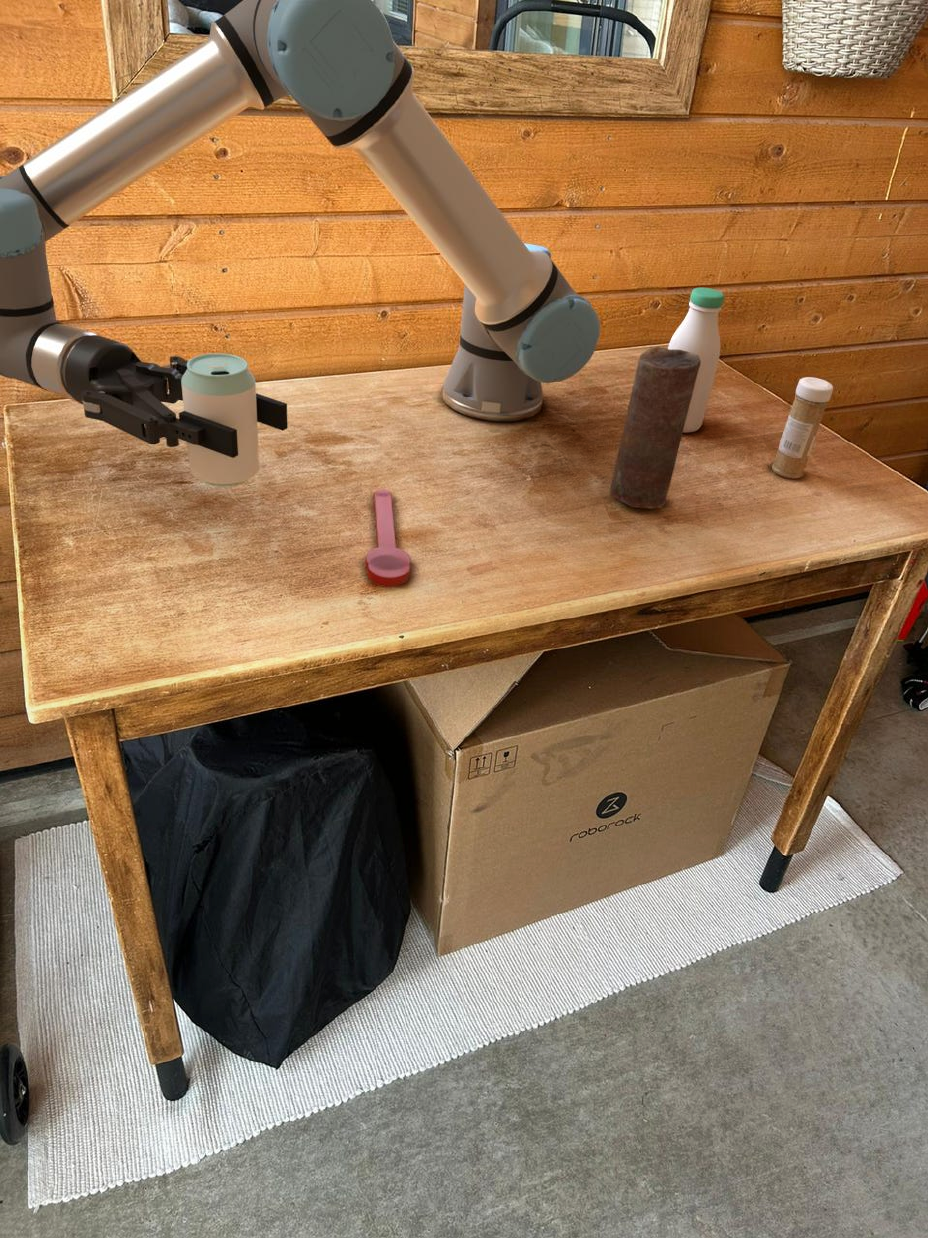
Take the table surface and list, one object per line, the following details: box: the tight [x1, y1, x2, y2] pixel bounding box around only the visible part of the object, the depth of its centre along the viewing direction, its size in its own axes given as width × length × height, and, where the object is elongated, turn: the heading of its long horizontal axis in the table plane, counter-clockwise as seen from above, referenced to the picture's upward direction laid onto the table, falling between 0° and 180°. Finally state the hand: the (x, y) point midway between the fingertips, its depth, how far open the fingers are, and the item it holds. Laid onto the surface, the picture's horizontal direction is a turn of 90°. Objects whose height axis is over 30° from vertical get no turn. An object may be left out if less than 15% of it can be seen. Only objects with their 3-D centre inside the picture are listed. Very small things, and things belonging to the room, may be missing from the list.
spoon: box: [364, 488, 412, 588], centre depth 108 cm, size 20×5×1 cm, turn 6°
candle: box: [609, 346, 701, 510], centre depth 115 cm, size 8×7×20 cm
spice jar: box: [771, 376, 834, 479], centre depth 129 cm, size 5×5×13 cm
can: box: [181, 352, 260, 488], centre depth 94 cm, size 7×7×12 cm
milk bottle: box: [667, 287, 725, 433], centre depth 137 cm, size 8×8×20 cm
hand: (260, 429), depth 92 cm, fingers closed on can, 7 cm apart
